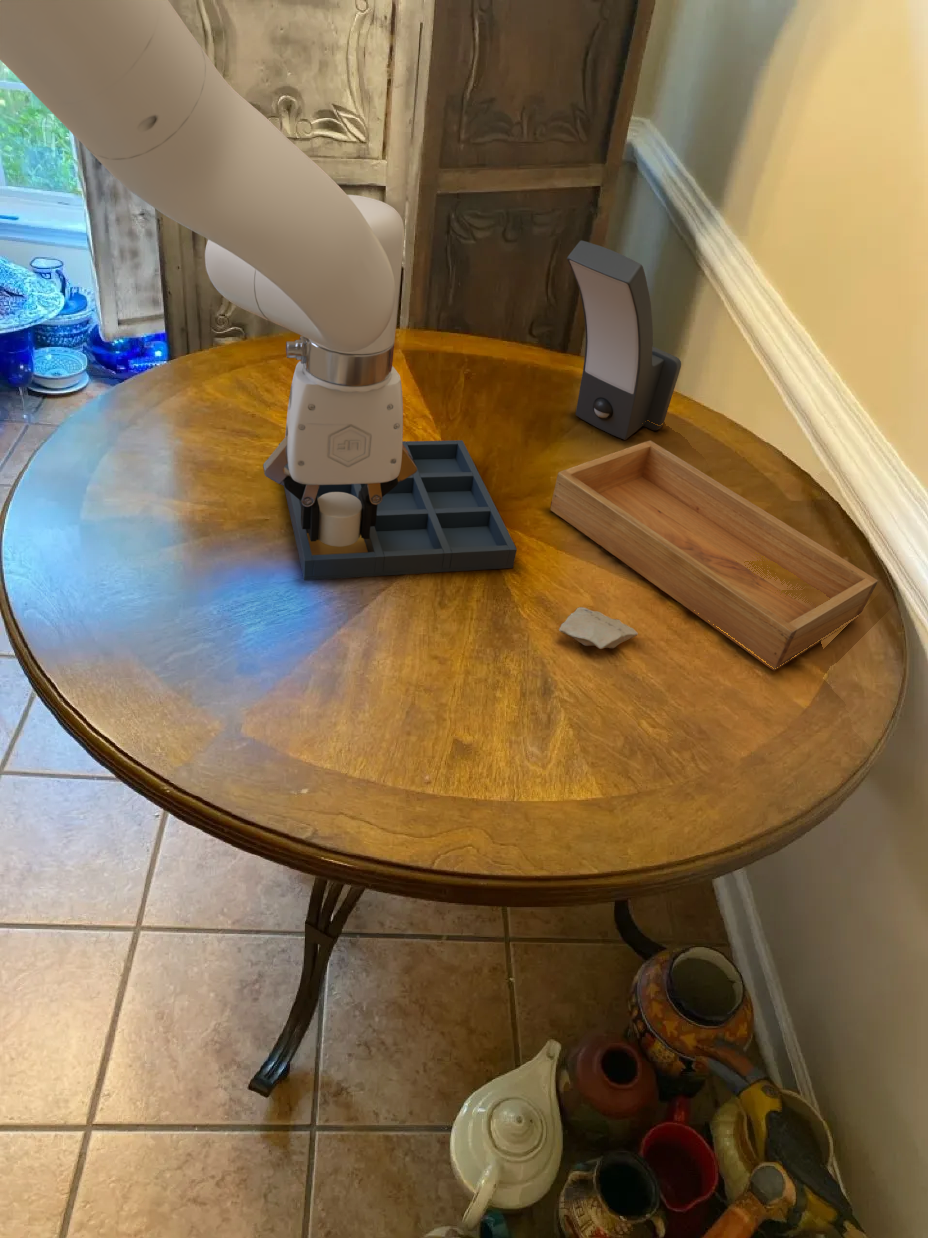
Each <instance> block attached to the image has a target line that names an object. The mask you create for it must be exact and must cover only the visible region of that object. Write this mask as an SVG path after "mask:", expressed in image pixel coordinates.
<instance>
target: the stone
mask: <svg viewBox="0 0 928 1238" xmlns="http://www.w3.org/2000/svg"><path fill="white" fill-rule="evenodd" d="M558 631H559V632H560V633H563V634H565V635H567V636H569V637H571V638H572V639H574V640H575V641H577V642H578V643H580V644H582V645H583V646H585V647H591V646H593V647H594V646H595V647H596V648H597V649H600V650H602V649H605V648H607V649H608V648H609V649H614V648H616V647H617V646H619V645H621V644H622V643H624V642H627V641H628V640H630V639H633V638H634V637H636V636H638V635H639V633H638V632H637V631H636V630H635V628H633V627H631V626H629V625H628V624H626V623H623V622H622V621H621V620H620V619H619V618H618V619H617V618H611V617H610V616H608V615H605V614H603V613H602V612H600V611H597V610H591V609H589V608H587V607H584V606H579V607H577V608H576V609H575V610H574V611H573V612H571V613H570V614H569V615H568V616H567V618H566V620H564V621H563V622H562V623H561V624H560V627H559V628H558Z"/></svg>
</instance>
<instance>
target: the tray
mask: <svg viewBox="0 0 928 1238" xmlns="http://www.w3.org/2000/svg"><path fill="white" fill-rule="evenodd" d="M550 511H551V512H553V513H554V514H555V515H557V516H558V517H560V518H561V519H563V520H564V521H565V522H566V523H568V524H569V525H571V526H572V527H574V528H575V529H576V530H578V531H579V532H580V533H582V534H584V536H586V537H588V538H589V539H591V540H592V541H593V542H595V543H596V544H598V546H601V547H602V548H603V549H604V550H606V551H607V552H609V553H610V554H611V555H613V556H614V557H616V558H617V559H618V560H620V561H621V562H622V563H624V564H625V565H626V566H628V567H629V568H631V569H632V570H633V571H634V572H636V573H637V574H639V575H640V576H642V577H643V578H644V579H646V580H647V581H649V582H650V583H652V584H653V585H654V586H656V587H657V588H658V589H660V590H661V591H663V592H664V593H665V594H667V595H668V596H669V597H670V598H672V599H674V601H677V603H679V604H681V605H682V606H684V607H685V608H687V610H689V611H690V612H692V613H693V614H695V616H698V617H699V618H700V619H701V620H703V621H704V622H705V623H707V624H708V625H709V626H711V627H713V628H714V629H715V630H717V631H718V632H719V633H720V634H722V635H724V636H725V637H726V638H727V639H729V640H731V641H732V642H733V643H734V644H736V645H737V646H739V647H740V648H742V649H743V650H744V651H746V652H747V653H748V654H750V655H751V656H752V657H754V658H755V659H756V660H758V661H759V662H761V663H762V664H764V666H766V667H768V668H769V669H770V670H771V671H776V670H778V669H779V668H781V667H783V666H784V665H786V664H788V663H789V662H790V661H792V660H794V659H796V658H797V657H798V656H800V655H802V654H804V653H805V652H807V651H808V650H810V649H811V648H813V647H814V646H816V645H818V644H819V643H821V642H823V640H825V639H827V638H828V637H831V635H833V634H835V633H837V632H838V631H839V630H841V629H843V628H844V627H846V626H847V625H849V624H850V623H852V622H854V621H855V620H857V619H858V618H859V617H857V618H856V619H854V620H853V621H851V622H850V623H848V624H846V625H845V626H843V627H842V628H840V629H839V630H837V631H835V632H834V633H832V634H831V635H829V636H828V637H826V638H824V639H823V640H821V641H820V642H818V643H816V644H815V645H813V646H812V647H810V648H809V649H807V650H805V651H804V652H802V653H801V654H799V655H797V654H798V653H800V652H801V651H803V650H804V649H806V648H808V647H809V646H810V645H812V644H814V643H815V642H817V641H818V640H820V639H821V638H823V637H825V636H826V635H828V634H829V633H831V632H832V631H834V630H835V629H837V628H839V627H840V626H841V625H843V624H844V623H846V622H848V621H849V620H851V619H853V618H854V617H856V616H857V615H859V614H860V615H861V613H862V612H863V611H864V609H865V607H866V605H867V603H868V602H869V600H870V597H871V596H872V594H873V592H874V590H875V588H876V586H877V585H878V582H879V580H878V579H876V578H875V577H873V576H872V575H870V574H869V573H867V572H865V571H864V570H862V569H861V568H858V567H857V566H856V565H854V564H852V563H851V562H849V561H847V560H846V559H844V558H843V557H841V556H839V555H838V554H836V553H835V552H833V551H831V550H829V549H828V548H826V547H824V546H823V545H821V544H820V543H818V542H817V541H814V540H813V539H812V538H810V537H808V536H806V534H805V535H804V534H803V533H802V532H800V531H798V530H796V529H795V528H794V527H792V526H790V525H788V524H787V523H785V522H784V521H782V520H780V519H779V518H777V517H776V516H774V515H772V514H771V513H770V512H767V511H766V510H764V509H763V508H761V507H759V506H758V505H756V504H754V503H753V502H751V501H750V500H748V499H746V498H744V497H743V496H741V495H739V494H738V493H736V492H735V491H733V490H732V489H730V488H728V487H726V486H725V485H724V484H722V483H720V482H718V481H717V480H715V479H713V478H712V477H711V476H709V475H707V474H706V473H704V472H702V471H701V470H699V469H698V468H696V467H695V466H693V465H691V464H690V463H689V462H686V461H684V460H683V459H682V458H680V457H679V456H676V455H675V454H673V453H671V452H670V451H668V450H667V449H665V448H664V447H662V446H660V445H659V444H657V443H655V442H654V441H652V440H647V441H644V442H641V443H638V444H635V445H632V446H629V447H627V448H626V447H625V448H624V449H621V450H618V451H616V452H612V453H610V454H606V455H604V456H601V457H599V458H594V459H592V460H589V461H587V462H584V463H580V464H579V465H575V466H573V467H572V466H571V467H570V468H567V469H563V470H561V471H558V473H557V477H556V481H555V485H554V490H553V494H552V498H551V504H550ZM755 552H756V553H757V554H756V553H755ZM758 553H759V554H758ZM754 554H755V555H754ZM760 555H761V556H765V558H767V560H768V559H769V560H770V561H773V562H775V563H777V564H778V565H779V566H781V567H782V568H784V569H786V570H788V571H789V572H791V573H793V574H794V575H796V576H797V577H798V578H800V579H801V580H803V581H804V582H806V583H807V584H809V585H811V586H812V587H814V588H816V589H817V590H820V591H821V592H823V593H824V594H826V596H827V597H829V598H830V600H828V601H826V602H824V603H823V604H821V605H818V606H817V607H816V608H815V606H816V605H815V604H816V603H815V604H814V605H815V606H814V605H813V603H812V602H811V603H812V604H811V603H810V602H809V603H810V604H811V605H810V604H809V603H807V602H808V601H807V600H808V599H807V600H806V601H807V602H806V601H805V599H804V598H805V597H806V596H805V597H804V598H803V597H802V598H803V599H804V600H803V599H802V598H801V599H799V598H800V597H801V596H800V595H801V594H802V593H801V594H800V595H799V596H800V597H799V596H798V597H799V598H798V597H797V596H795V595H794V596H795V597H797V598H796V599H794V598H795V597H794V596H793V597H792V596H791V594H792V593H791V594H790V593H789V594H790V595H789V594H788V595H787V596H786V594H785V593H786V592H787V591H786V592H785V593H784V592H783V593H782V594H781V591H782V590H793V589H792V588H793V587H794V586H793V587H791V586H792V584H790V585H789V586H788V585H787V584H788V583H789V582H790V581H789V582H788V583H787V584H786V582H785V581H784V580H785V579H784V580H783V581H784V582H785V583H784V582H783V581H782V582H783V583H784V584H783V583H782V582H781V581H780V579H779V578H778V577H777V576H776V577H777V578H778V579H777V580H776V579H775V578H776V577H775V578H774V577H772V576H771V575H770V576H771V577H772V578H771V577H770V576H769V575H768V574H769V573H770V572H769V570H767V571H768V572H769V573H768V572H767V573H768V574H767V575H768V576H766V575H765V574H764V573H763V572H762V571H763V570H762V569H761V568H760V567H759V566H758V567H759V568H760V569H761V570H762V571H761V570H760V569H759V568H758V569H759V570H760V571H761V572H762V573H763V574H764V575H765V576H766V577H767V578H766V577H765V576H764V575H763V574H762V573H761V572H760V571H759V570H758V569H757V568H756V569H757V570H758V571H759V572H760V573H761V574H762V575H763V576H762V575H761V574H760V573H759V572H758V571H756V569H754V567H755V566H756V565H755V566H754V567H752V565H753V564H754V563H753V564H752V565H751V564H749V562H750V561H751V562H752V561H757V560H758V561H759V560H760V561H762V560H761V559H762V558H761V556H760ZM756 556H757V557H756ZM758 556H759V557H760V558H761V559H760V558H759V557H758ZM752 557H753V558H752ZM757 558H758V559H757ZM763 559H764V557H763ZM764 560H765V559H764ZM764 560H763V561H764ZM769 560H768V561H769ZM736 561H737V562H736ZM745 561H749V562H745ZM765 561H766V560H765ZM744 562H745V563H744ZM751 562H750V563H751ZM748 564H749V565H748ZM745 565H746V566H745ZM761 565H762V564H761ZM750 566H751V567H750ZM767 566H768V565H767ZM747 567H748V568H747ZM749 567H750V568H749ZM756 567H757V566H756ZM752 568H753V569H752ZM762 568H763V567H762ZM767 568H768V567H767ZM769 568H770V567H769ZM749 569H750V570H749ZM751 569H752V570H751ZM754 570H755V571H756V572H755V571H754ZM764 570H765V569H764ZM753 571H754V572H753ZM752 572H753V573H752ZM757 573H758V574H757ZM754 574H755V575H754ZM770 574H771V573H770ZM775 574H776V573H775ZM760 575H761V576H762V577H761V576H760ZM764 577H765V578H764ZM769 577H770V578H771V579H770V578H769ZM763 578H764V579H763ZM768 578H769V579H768ZM774 579H775V580H776V581H775V580H774ZM781 583H782V584H783V585H782V584H781ZM797 584H798V583H797ZM797 584H796V586H797ZM787 586H788V587H787ZM796 586H795V587H796ZM799 586H800V585H799ZM799 586H798V587H796V588H795V587H794V588H795V589H796V590H798V589H799V588H800V587H801V586H800V587H799ZM790 587H791V588H790ZM805 587H806V586H805ZM805 587H804V588H805ZM787 588H788V589H787ZM789 588H790V589H789ZM797 588H798V589H797ZM801 588H802V587H801ZM801 588H800V589H799V590H803V589H804V588H803V589H801ZM795 589H794V590H795ZM770 590H771V591H770ZM777 590H778V591H777ZM779 590H780V591H779ZM775 592H776V593H775ZM780 594H781V595H780ZM796 594H797V593H796ZM785 596H786V597H785ZM791 597H792V598H791ZM798 599H799V600H798ZM802 600H803V601H802ZM804 601H805V602H806V603H805V602H804ZM812 605H813V606H812ZM694 610H695V611H694ZM698 613H699V614H698ZM860 615H859V616H860ZM708 620H709V621H710V622H709V621H708ZM713 624H714V625H713ZM716 626H717V627H719V628H720V629H721V630H723V631H724V632H726V633H728V635H730V636H731V637H733V638H735V640H737V641H738V642H740V643H741V644H743V645H744V646H745V647H746V648H748V649H750V650H751V651H753V652H754V654H756V655H757V656H759V657H760V658H761V659H763V660H764V661H766V663H767V664H769V665H770V666H772V667H773V668H774V669H773V668H772V667H770V666H769V665H767V664H766V663H765V662H763V661H762V660H761V659H759V658H758V657H757V656H755V655H754V654H752V653H751V652H750V651H748V650H747V649H746V648H744V647H743V646H742V645H740V644H739V643H738V642H736V641H735V640H734V639H732V638H731V637H730V636H728V635H727V634H726V633H724V632H723V631H721V630H720V629H719V628H717V627H716ZM795 655H797V656H796V657H794V656H795ZM792 657H794V658H792ZM791 658H792V659H791ZM790 659H791V660H790ZM788 660H789V661H788ZM786 661H788V662H786ZM785 662H786V663H785ZM783 663H784V664H783ZM782 664H783V665H782ZM780 665H781V666H780ZM777 667H778V668H777ZM775 668H776V669H775Z"/></svg>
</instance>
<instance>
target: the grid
mask: <svg viewBox="0 0 928 1238" xmlns="http://www.w3.org/2000/svg"><path fill="white" fill-rule="evenodd" d="M280 443H281V442H280ZM280 443H278V445H279V444H280ZM402 444H403V445H404V447H405V448H406V450H407V451H408V453H409V454H410V456H411V457H412V458H413V460H414V462H415V464H416V467H417V471H416V473H414V474H413V475H411V476H409V477H408V478H406V479H404V480H403V481H399V482H398V484H397V485H396V486H395V487H394V488H393V489H392V490H391V491H389V492H388V493H387V494H386V495H384V496H383V497H382V502H381V503H380V504H378V505H377V516H376V525H375V526H372V527H370V537H369V539H363V538H361V535H360V537H359V539H358V540H357V541H356V542H355V543H353V544H351V545H348V546H342V547H337V546H330V545H327V544H324V543H323V542H321V541H320V540H316V541H312V542H311V541H310V537H309V532H308V529H302V526H301V501H300V500H299V499H298V498H297V497H295V496H294V495H293V494H292V493H291V492H289V491H288V490H287V489H286V488H285V486H283V489H284V494H285V498H286V503H287V508H288V511H289V517H290V521H291V525H292V526H291V527H292V531H293V535H294V540H295V545H296V549H297V554H298V559H299V563H300V569H301V572H302V577H303V580H304V581H313V580H315V581H316V580H331V579H332V580H333V579H349V578H364V577H381V576H382V577H383V576H399V575H416V574H418V575H419V574H434V573H451V572H452V573H453V572H467V571H469V572H470V571H485V570H500V569H501V570H502V569H513V568H514V564H515V560H516V557H517V552H518V551H517V550H518V549H517V547H516V545H515V542H514V541H513V539H512V536H511V534H510V533H509V530H508V528H507V527H506V525H505V523H504V520H503V519H502V517H501V514H500V513H499V510H498V509H497V507H496V505H495V502H494V501H493V499H492V497H491V494H490V493H489V490H488V488H487V487H486V484H485V483H484V481H483V479H482V477H481V475H480V472H479V470H478V469H477V466H476V464H475V462H474V461H473V458H472V456H471V454H470V453H469V450H468V448H467V446H466V445H465V442H464V440H463V439H461V440H460V439H458V440H457V439H456V440H412V441H411V440H409V441H406V440H404V441H402ZM392 462H393V460H392ZM301 463H302V462H301ZM285 468H286V469H288V470H289V467H288V463H287V465H286V466H285ZM364 486H365V484H339V485H320V486H319V489H318V492H317V495H316V496H317V499H318V498H319V497H320V496H322V495H324V494H326V493H330V492H344V493H348V494H351V495H353V496H355V497H357V498H358V496H359V491H361V488H363V487H364Z"/></svg>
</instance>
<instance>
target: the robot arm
mask: <svg viewBox="0 0 928 1238" xmlns="http://www.w3.org/2000/svg"><path fill="white" fill-rule="evenodd" d="M0 61H1V63H3V64H4V65H5V66H6V67H7V68H8V70H10V71H11V72H12V74H13V75H15V77H17V78H18V80H19V81H21V83H22V84H24V86H25V87H26V88H27V89H28V90H29V91H30V92H31V93H32V94H33V95H34V96H35V97H36V98H37V99H38V100H39V101H40V102H41V103H42V104H43V105H44V106H45V107H46V108H47V109H48V110H49V111H50V112H51V113H52V115H54V116H55V118H57V120H59V122H60V123H62V124H63V126H64V127H65V128H66V129H67V130H68V131H69V132H70V133H71V134H72V135H73V136H74V137H75V138H76V139H77V140H78V141H79V142H80V143H81V144H82V145H83V146H84V148H85V149H87V151H88V152H90V154H92V155H93V157H95V159H96V160H97V161H98V162H99V163H100V164H101V165H102V166H103V167H104V168H105V169H106V170H107V171H108V172H109V173H110V174H111V175H112V177H113V178H114V179H115V180H116V181H118V183H120V184H121V185H122V186H123V187H124V188H126V189H127V190H129V191H130V192H131V193H132V194H133V195H135V196H137V197H138V198H140V200H142V201H144V202H145V203H146V204H147V205H149V206H151V207H152V208H153V209H155V210H156V211H158V212H159V213H161V214H162V215H163V216H165V217H167V218H169V219H170V220H172V221H174V222H176V223H177V224H179V225H180V226H183V227H184V228H186V229H189V230H190V231H192V232H194V233H196V234H198V235H199V236H201V237H203V238H205V239H207V242H206V245H205V251H204V263H205V270H206V273H207V275H208V279H209V280H210V282H211V284H212V285H213V287H214V288H215V289H216V291H217V292H218V293H219V294H220V295H221V296H222V297H224V299H226V300H227V301H228V302H230V303H231V304H233V305H235V306H236V307H238V308H240V309H241V310H244V311H245V312H248V313H249V314H253V315H255V316H257V317H259V318H261V319H263V320H265V321H267V322H270V323H272V324H274V325H277V326H280V327H282V328H283V329H286V330H288V331H291V332H293V333H294V334H297V335H299V339H295V340H294V341H286V342H285V355H286V356H285V357H286V358H287V359H295V360H296V361H298V362H297V364H296V366H295V369H294V373H293V377H292V381H291V385H290V390H289V397H288V404H287V413H286V423H285V434H284V435H285V437H284V438H283V440H282V441H281V442H280V444H279V443H278V445H277V447H276V448H275V449H274V450H273V452H271V454H270V455H269V456H268V457H267V459H265V461H264V463H263V464H262V468H263V473H264V476H265V477H266V478H268V479H270V480H272V481H273V482H275V483H276V484H279V485H282V486H283V487H284V486H285V488H286V489H287V490H288V491H289V492H291V493H292V494H293V495H294V496H295V497H297V498H298V499H299V500H300V501H301V526H302V529H308V532H309V537H310V541H311V542H312V541H316V540H318V536H319V514H320V508H319V504H318V500H317V496H316V495H317V492H318V489H319V486H320V485H339V484H365V486H364V487H363V488H361V491H359V496H358V499H359V500H360V501H361V504H362V517H361V530H360V535H361V538H363V539H369V537H370V527H372V526H375V525H376V516H377V505H378V504H380V503H381V502H382V497H383V496H384V495H386V494H387V493H388V492H389V491H391V490H392V489H393V488H394V487H395V486H396V485H397V484H398V482H399V481H403V480H404V479H406V478H408V477H409V476H411V475H413V474H414V473H416V471H417V467H416V464H415V462H414V460H413V458H412V457H411V456H410V454H409V453H408V451H407V450H406V448H405V447H404V445H403V444H402V441H403V439H404V437H403V436H404V401H403V386H402V379H401V376H400V374H399V372H398V371H397V369H396V368H395V367H394V366H393V361H394V351H395V341H396V329H397V328H396V327H397V318H398V309H399V308H398V307H399V297H400V286H401V274H402V265H403V254H404V246H405V245H404V244H405V227H404V226H405V224H404V220H403V218H402V216H401V214H400V213H399V211H397V210H396V209H395V208H394V206H392V205H390V204H388V203H386V202H384V201H381V200H379V199H376V198H373V197H369V196H364V195H358V194H347V193H346V192H345V191H344V190H343V189H342V188H341V187H340V186H339V184H337V182H335V180H333V178H332V177H331V176H330V175H329V174H328V173H326V171H324V170H323V169H322V167H320V166H319V165H318V164H317V163H316V162H314V160H313V159H311V158H310V157H309V156H308V155H307V154H306V153H305V152H304V151H302V149H300V148H299V147H298V146H297V145H296V144H294V142H293V141H291V140H290V139H289V138H288V137H287V136H286V135H285V134H284V133H283V132H282V131H280V129H279V128H278V127H276V126H275V124H274V123H272V121H270V119H268V118H267V117H266V115H264V114H263V113H261V111H259V110H258V109H257V108H256V107H255V106H253V105H252V104H251V103H250V102H249V101H248V100H246V99H245V98H244V97H242V95H241V94H239V93H238V92H237V91H236V90H235V89H234V88H233V87H232V86H231V85H230V84H229V83H228V82H227V80H226V79H225V78H224V76H222V74H221V73H220V72H219V70H218V69H217V67H216V66H215V64H214V63H213V61H211V59H210V57H209V56H208V55H207V53H206V52H205V50H204V49H203V47H202V46H201V45H200V43H199V42H198V40H197V39H196V38H195V36H194V35H193V33H191V31H190V30H189V28H188V26H187V25H186V23H185V22H184V21H183V20H182V18H181V17H180V14H178V12H177V10H175V8H174V6H173V5H172V3H171V1H169V0H0ZM392 460H393V462H392ZM301 462H302V463H301ZM287 463H288V467H289V470H288V469H286V468H285V466H286V465H287Z"/></svg>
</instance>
